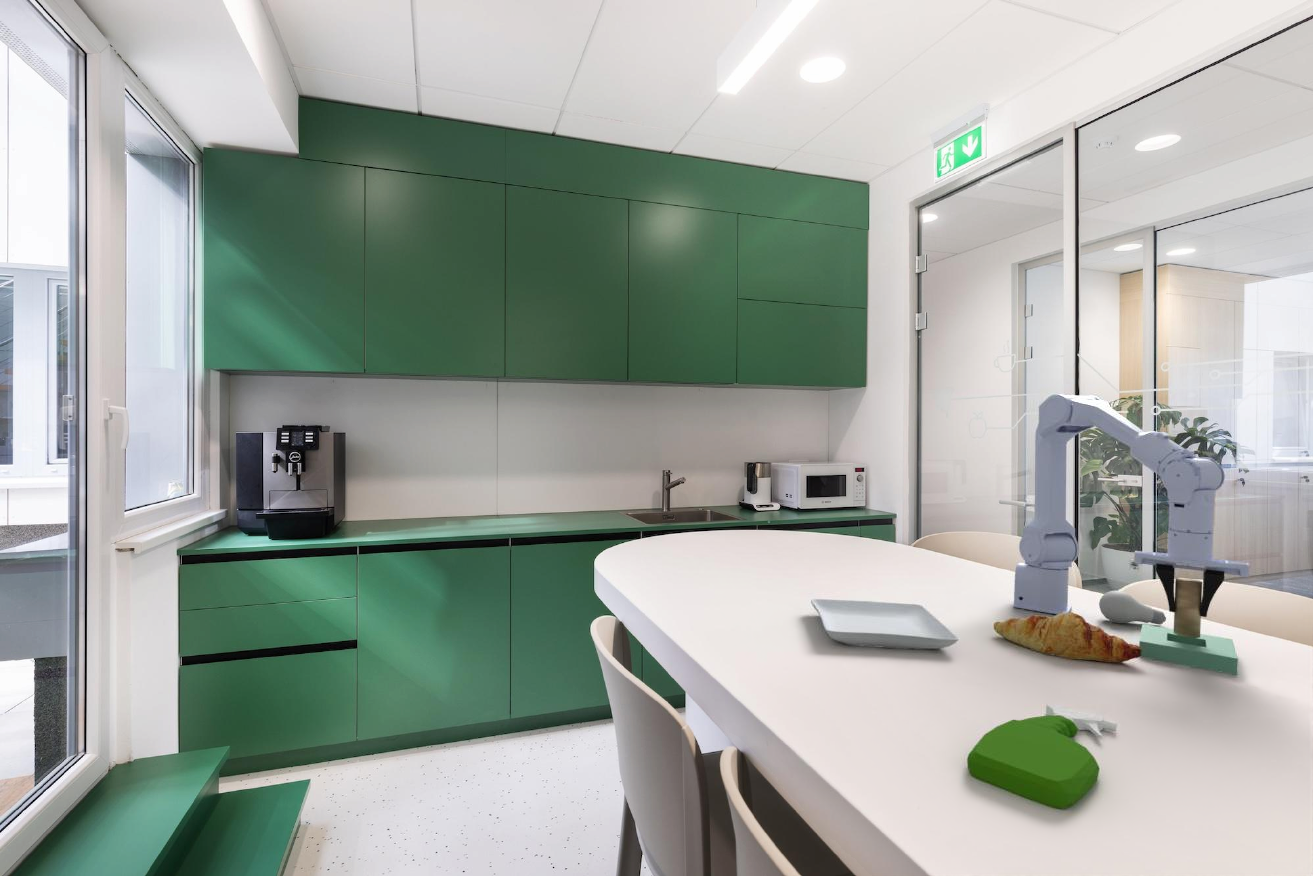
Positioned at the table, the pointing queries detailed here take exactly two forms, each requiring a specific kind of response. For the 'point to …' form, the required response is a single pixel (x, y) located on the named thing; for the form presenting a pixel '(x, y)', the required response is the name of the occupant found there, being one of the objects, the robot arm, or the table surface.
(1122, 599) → the lightbulb
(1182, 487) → the robot arm
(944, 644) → the salad plate
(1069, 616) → the croissant
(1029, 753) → the spray bottle
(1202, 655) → the socket block
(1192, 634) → the dowel
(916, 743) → the table surface
